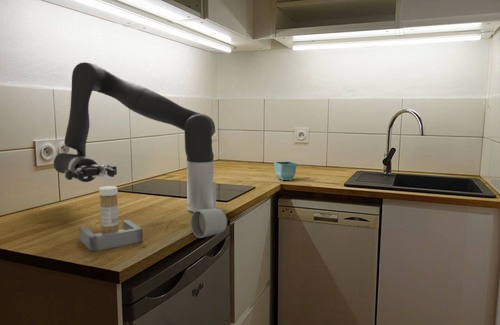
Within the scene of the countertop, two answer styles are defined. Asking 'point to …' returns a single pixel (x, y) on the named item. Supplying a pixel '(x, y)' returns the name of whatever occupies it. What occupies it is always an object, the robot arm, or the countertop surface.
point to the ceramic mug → (208, 222)
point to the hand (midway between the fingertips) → (98, 174)
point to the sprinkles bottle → (108, 209)
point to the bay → (111, 237)
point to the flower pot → (285, 170)
